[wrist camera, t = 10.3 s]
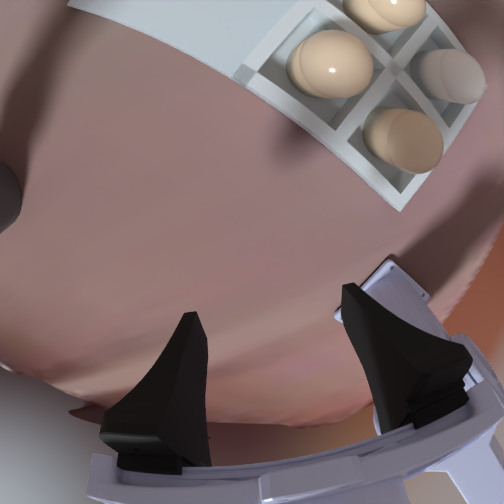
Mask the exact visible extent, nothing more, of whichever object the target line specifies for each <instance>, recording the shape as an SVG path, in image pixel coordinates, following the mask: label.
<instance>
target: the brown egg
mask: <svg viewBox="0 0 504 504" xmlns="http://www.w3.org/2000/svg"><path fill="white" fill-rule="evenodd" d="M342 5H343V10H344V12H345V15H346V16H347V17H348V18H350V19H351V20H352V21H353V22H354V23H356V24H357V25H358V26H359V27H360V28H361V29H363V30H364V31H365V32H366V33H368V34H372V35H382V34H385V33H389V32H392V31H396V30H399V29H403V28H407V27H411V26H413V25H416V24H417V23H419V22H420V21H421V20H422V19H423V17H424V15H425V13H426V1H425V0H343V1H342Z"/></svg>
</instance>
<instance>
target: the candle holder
mask: <svg viewBox="0 0 504 504" xmlns="http://www.w3.org/2000/svg"><path fill="white" fill-rule="evenodd" d="M21 204H22V203H21V191H20V188H19V185H18V182H17V179H16V177H15V176H14V174H13V173H12V171H11V169H9V168H8V167H7V166H5V165H4V164H0V234H1V233H2V232H3V231H4V230H5V229H7V228H8V227H9V226H10V225H11V224H13V223H14V222H15V220H16V219H17V217H18V216H19V214H20V209H21Z"/></svg>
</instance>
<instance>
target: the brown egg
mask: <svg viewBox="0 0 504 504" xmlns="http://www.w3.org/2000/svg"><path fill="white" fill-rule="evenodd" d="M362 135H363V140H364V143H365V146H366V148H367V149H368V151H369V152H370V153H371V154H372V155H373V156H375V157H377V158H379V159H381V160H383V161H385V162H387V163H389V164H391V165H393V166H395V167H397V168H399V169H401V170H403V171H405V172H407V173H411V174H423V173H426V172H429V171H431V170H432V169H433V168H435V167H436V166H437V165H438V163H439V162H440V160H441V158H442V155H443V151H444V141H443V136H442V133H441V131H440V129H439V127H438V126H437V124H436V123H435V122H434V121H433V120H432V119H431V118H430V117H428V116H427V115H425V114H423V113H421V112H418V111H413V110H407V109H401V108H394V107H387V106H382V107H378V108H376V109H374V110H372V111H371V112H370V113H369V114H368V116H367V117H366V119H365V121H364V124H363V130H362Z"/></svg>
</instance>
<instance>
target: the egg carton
mask: <svg viewBox="0 0 504 504" xmlns="http://www.w3.org/2000/svg"><path fill="white" fill-rule="evenodd" d="M342 1H343V0H70V1H69V3H68V4H67V6H69V7H72V8H76V9H79V10H83V11H86V12H89V13H92V14H95V15H98V16H101V17H104V18H107V19H110V20H112V21H115V22H118V23H120V24H123V25H125V26H128V27H130V28H133V29H135V30H137V31H140V32H142V33H144V34H147V35H149V36H151V37H153V38H156V39H158V40H160V41H162V42H164V43H166V44H168V45H170V46H172V47H174V48H176V49H178V50H180V51H182V52H184V53H186V54H188V55H190V56H192V57H194V58H196V59H197V60H199V61H201V62H203V63H205V64H206V65H208V66H210V67H212V68H213V69H215V70H217V71H219V72H220V73H222V74H224V75H225V76H227V77H229V78H230V79H232V80H233V81H235V82H237V83H238V84H240V85H241V86H243V87H245V88H246V89H248V90H249V91H251V92H252V93H254V94H255V95H257V96H258V97H260V98H261V99H263V100H264V101H266V102H267V103H269V104H270V105H271V106H273V107H274V108H276V109H277V110H278V111H280V112H281V113H283V114H284V115H285V116H287V117H288V118H289V119H291V120H292V121H294V122H295V123H296V124H297V125H299V126H300V127H301V128H303V129H304V130H305V131H307V132H308V133H309V134H310V135H312V136H313V137H314V138H315V139H317V140H318V141H319V142H320V143H322V144H323V145H324V146H325V147H327V148H328V149H329V150H330V151H331V152H333V153H334V154H335V155H336V156H337V157H338V158H340V159H341V160H342V161H343V162H344V163H345V164H346V165H348V166H349V167H350V168H351V169H352V170H353V171H354V172H355V173H357V174H358V175H359V176H360V177H361V178H362V179H363V180H364V181H365V182H366V183H367V184H368V185H369V186H371V187H372V188H373V189H374V190H375V191H376V192H377V193H378V194H379V195H380V196H381V197H382V198H383V199H384V200H385V201H386V202H388V203H389V204H390V205H392V206H393V207H394V208H395V209H397V210H398V211H399V212H400V211H401V210H402V208H403V207H404V206H405V205H406V203H407V202H408V201H409V200H410V198H411V197H412V196H413V195H414V193H415V192H416V191H417V189H418V188H419V187H420V186H421V184H422V183H423V182H424V180H425V179H426V178H427V176H428V175H429V174H430V172H431V171H432V170H433V169H432V170H431V171H429V172H426V173H423V174H411V173H407V172H405V171H403V170H401V169H399V168H397V167H395V166H393V165H391V164H389V163H387V162H385V161H383V160H381V159H379V158H377V157H375V156H373V155H372V154H371V153H370V152H369V151H368V149H367V148H366V146H365V143H364V140H363V135H362V130H363V124H364V121H365V119H366V117H367V116H368V114H369V113H370V112H371V111H372V110H374V109H376V108H378V107H382V106H387V107H394V108H401V109H407V110H413V111H418V112H421V113H423V114H425V115H427V116H428V117H430V118H431V119H432V120H433V121H434V122H435V123H436V124H437V126H438V127H439V129H440V131H441V133H442V136H443V141H444V151H443V154H444V153H445V152H446V150H447V149H448V147H449V146H450V144H451V143H452V142H453V140H454V139H455V137H456V136H457V134H458V133H459V131H460V130H461V128H462V127H463V125H464V124H465V122H466V121H467V119H468V117H469V116H470V114H471V113H472V111H473V109H474V108H475V106H476V105H477V103H478V101H479V100H478V101H477V102H475V103H472V104H459V103H453V102H447V101H441V100H434V99H429V98H427V97H426V96H425V95H424V93H423V92H422V91H421V90H420V89H419V87H418V86H417V85H416V84H415V83H414V81H413V80H412V77H411V71H410V65H411V61H412V58H413V57H414V55H415V54H416V53H418V52H420V51H428V50H440V49H459V50H462V51H464V52H466V50H465V49H464V47H463V46H462V45H461V43H460V42H459V40H458V39H457V38H456V36H455V35H454V34H453V33H452V31H451V30H450V29H449V27H448V26H447V25H446V24H445V22H444V21H443V20H442V19H441V18H440V16H439V15H438V14H437V13H436V12H435V11H434V10H433V8H432V7H431V6H430V5H429V4H428V3H427V2H426V13H425V15H424V17H423V19H422V20H421V21H420V22H419V23H417V24H416V25H413V26H411V27H407V28H403V29H399V30H396V31H392V32H389V33H385V34H382V35H372V34H368V33H366V32H365V31H364V30H363V29H361V28H360V27H359V26H358V25H357V24H356V23H354V22H353V21H352V20H351V19H350V18H348V17H347V16H346V15H345V12H344V10H343V5H342ZM323 30H340V31H345V32H347V33H350V34H352V35H354V36H355V37H357V38H358V39H359V40H361V41H362V42H363V43H364V44H365V46H366V47H367V48H368V50H369V52H370V54H371V56H372V59H373V64H374V71H373V76H372V79H371V81H370V83H369V84H368V86H367V87H366V88H365V89H364V90H363V91H362V92H360V93H359V94H357V95H355V96H352V97H349V98H341V99H340V98H313V97H309V96H306V95H304V94H302V93H301V92H299V91H298V90H297V89H296V88H295V87H294V86H293V85H292V84H291V82H290V80H289V79H288V76H287V73H286V61H287V58H288V55H289V54H290V52H291V51H292V50H293V49H294V48H295V47H296V46H298V45H299V44H300V43H302V42H303V41H304V40H306V39H307V38H309V37H310V36H311V35H313V34H315V33H317V32H320V31H323ZM487 86H488V85H487V83H486V88H487ZM485 90H486V89H485ZM442 156H443V155H442Z"/></svg>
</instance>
